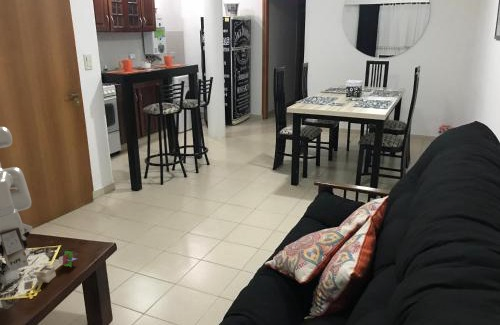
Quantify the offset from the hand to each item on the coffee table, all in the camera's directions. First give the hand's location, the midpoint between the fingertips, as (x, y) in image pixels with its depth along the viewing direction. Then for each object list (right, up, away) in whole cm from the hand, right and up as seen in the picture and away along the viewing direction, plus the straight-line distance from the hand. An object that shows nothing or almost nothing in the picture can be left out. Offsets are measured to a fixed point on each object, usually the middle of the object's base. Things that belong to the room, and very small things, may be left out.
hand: (13, 251), depth 155 cm
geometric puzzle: (+12, -11, +22) cm, 28 cm away
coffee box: (0, -6, +2) cm, 6 cm away
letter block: (+6, -15, +13) cm, 21 cm away
